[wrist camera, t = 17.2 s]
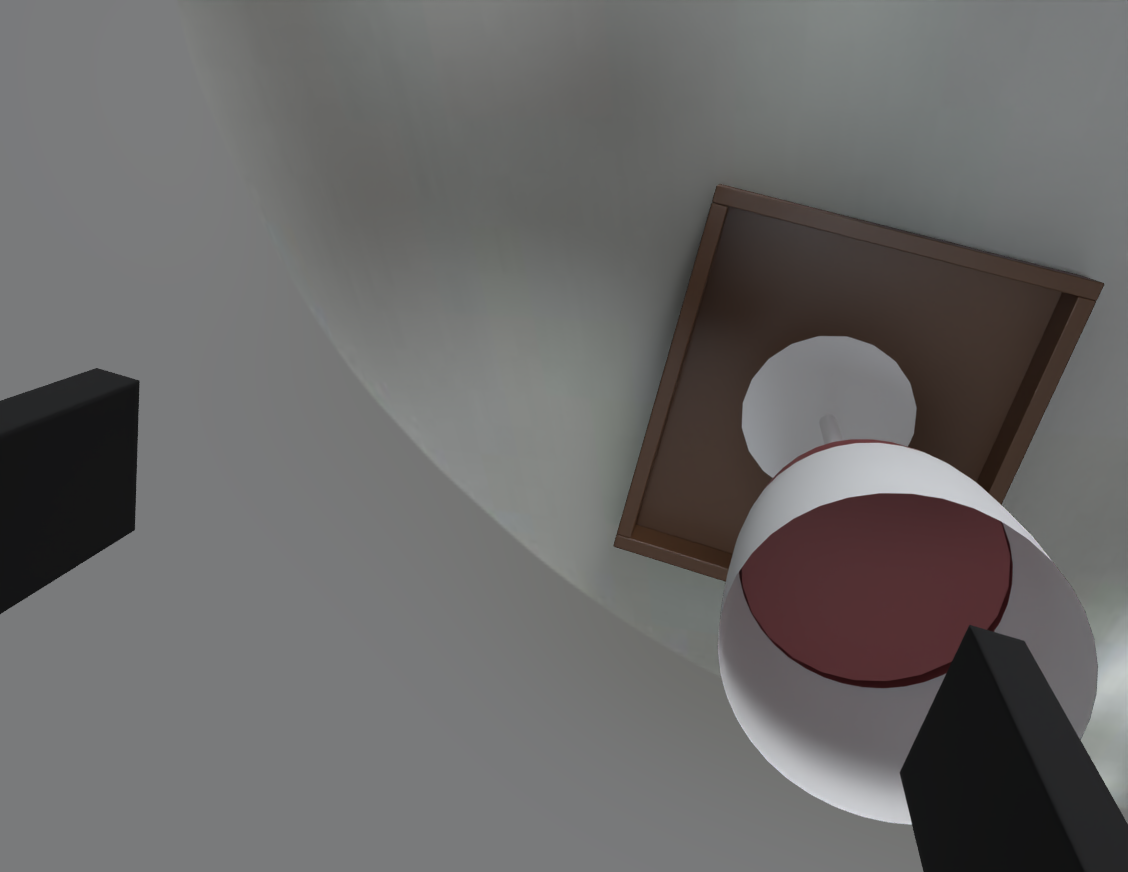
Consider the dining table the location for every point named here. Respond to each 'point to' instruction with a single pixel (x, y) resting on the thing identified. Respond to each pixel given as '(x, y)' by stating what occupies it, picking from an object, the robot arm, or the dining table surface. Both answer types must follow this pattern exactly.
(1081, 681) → the wineglass
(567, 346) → the dining table surface
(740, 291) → the tray
